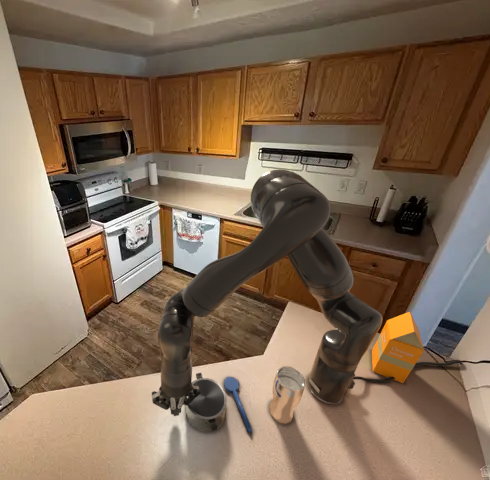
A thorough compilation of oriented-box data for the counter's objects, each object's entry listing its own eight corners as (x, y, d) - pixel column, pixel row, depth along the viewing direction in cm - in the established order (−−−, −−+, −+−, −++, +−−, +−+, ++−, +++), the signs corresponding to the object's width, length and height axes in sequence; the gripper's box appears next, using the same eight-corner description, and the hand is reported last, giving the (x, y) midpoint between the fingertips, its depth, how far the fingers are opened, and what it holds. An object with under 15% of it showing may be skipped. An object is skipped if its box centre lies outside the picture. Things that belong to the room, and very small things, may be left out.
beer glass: (296, 428, 68) (309, 394, 60) (269, 422, 69) (278, 389, 62) (291, 401, 74) (302, 367, 66) (266, 396, 75) (274, 363, 68)
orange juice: (372, 371, 81) (396, 325, 71) (371, 350, 87) (393, 306, 78) (403, 383, 77) (434, 337, 67) (400, 361, 84) (427, 315, 74)
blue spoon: (235, 377, 80) (235, 374, 80) (258, 431, 67) (259, 428, 67) (221, 380, 80) (221, 377, 79) (242, 435, 67) (243, 433, 66)
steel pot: (215, 380, 80) (216, 368, 77) (234, 434, 67) (236, 422, 64) (180, 388, 78) (180, 375, 75) (193, 445, 65) (193, 432, 62)
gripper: (150, 392, 57) (153, 433, 66) (207, 381, 60) (203, 421, 68) (147, 363, 64) (150, 403, 72) (198, 354, 66) (195, 394, 75)
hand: (175, 412), depth 70 cm, fingers closed
